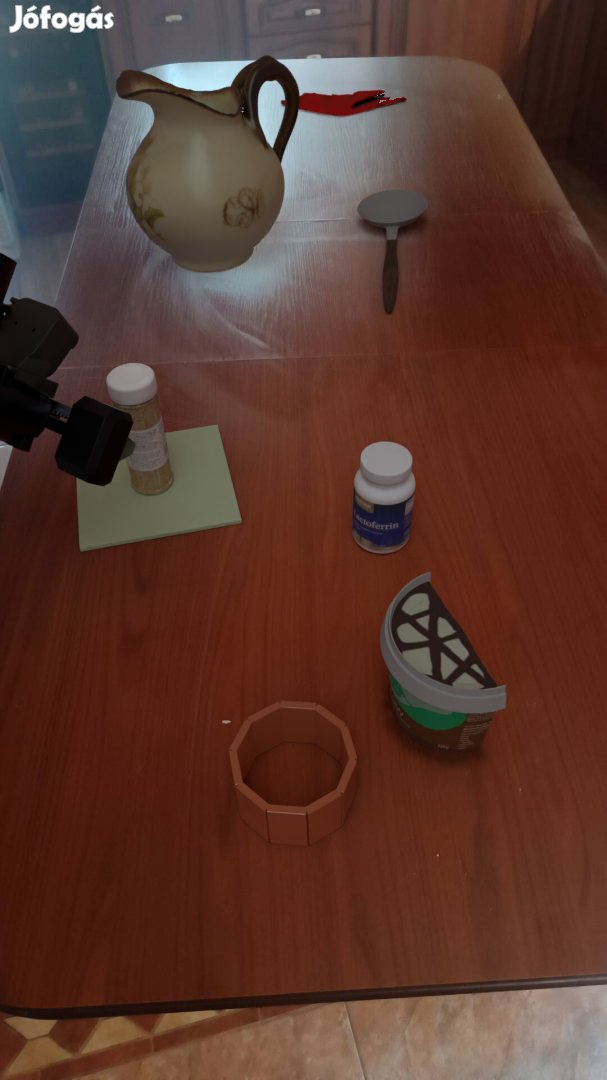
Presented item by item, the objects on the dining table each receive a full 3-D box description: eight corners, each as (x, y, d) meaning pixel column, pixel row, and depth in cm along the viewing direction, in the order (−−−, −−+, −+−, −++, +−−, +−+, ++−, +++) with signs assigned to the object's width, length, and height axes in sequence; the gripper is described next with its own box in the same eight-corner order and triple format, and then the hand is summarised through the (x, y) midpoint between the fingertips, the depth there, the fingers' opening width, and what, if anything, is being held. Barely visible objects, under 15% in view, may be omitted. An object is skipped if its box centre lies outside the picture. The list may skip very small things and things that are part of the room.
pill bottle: (344, 548, 77) (346, 470, 70) (360, 509, 81) (363, 432, 74) (402, 561, 76) (410, 483, 69) (416, 521, 80) (424, 443, 73)
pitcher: (112, 279, 116) (73, 89, 98) (177, 211, 132) (153, 36, 114) (257, 299, 111) (244, 103, 93) (307, 226, 127) (304, 46, 109)
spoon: (427, 205, 129) (427, 187, 127) (430, 320, 107) (430, 301, 105) (360, 210, 131) (358, 192, 129) (349, 324, 109) (347, 305, 107)
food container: (352, 665, 68) (354, 588, 61) (417, 644, 69) (427, 566, 62) (416, 792, 60) (428, 721, 53) (489, 765, 61) (510, 691, 54)
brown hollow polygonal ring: (248, 860, 57) (242, 829, 53) (227, 747, 63) (221, 712, 59) (367, 831, 58) (370, 799, 54) (336, 723, 64) (336, 688, 60)
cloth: (272, 114, 162) (272, 102, 161) (286, 92, 172) (286, 80, 170) (401, 120, 159) (401, 107, 157) (407, 97, 168) (408, 85, 166)
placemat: (80, 551, 78) (79, 548, 78) (75, 450, 89) (74, 446, 89) (242, 523, 80) (241, 519, 80) (218, 427, 91) (217, 424, 91)
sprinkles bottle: (138, 466, 86) (114, 359, 76) (179, 470, 85) (160, 362, 76) (125, 495, 83) (98, 387, 73) (168, 499, 82) (146, 390, 73)
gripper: (90, 322, 55) (207, 379, 69) (-85, 257, 62) (53, 321, 76) (34, 474, 56) (161, 499, 70) (-131, 392, 63) (13, 430, 78)
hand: (95, 432), depth 74 cm, fingers open, 9 cm apart
